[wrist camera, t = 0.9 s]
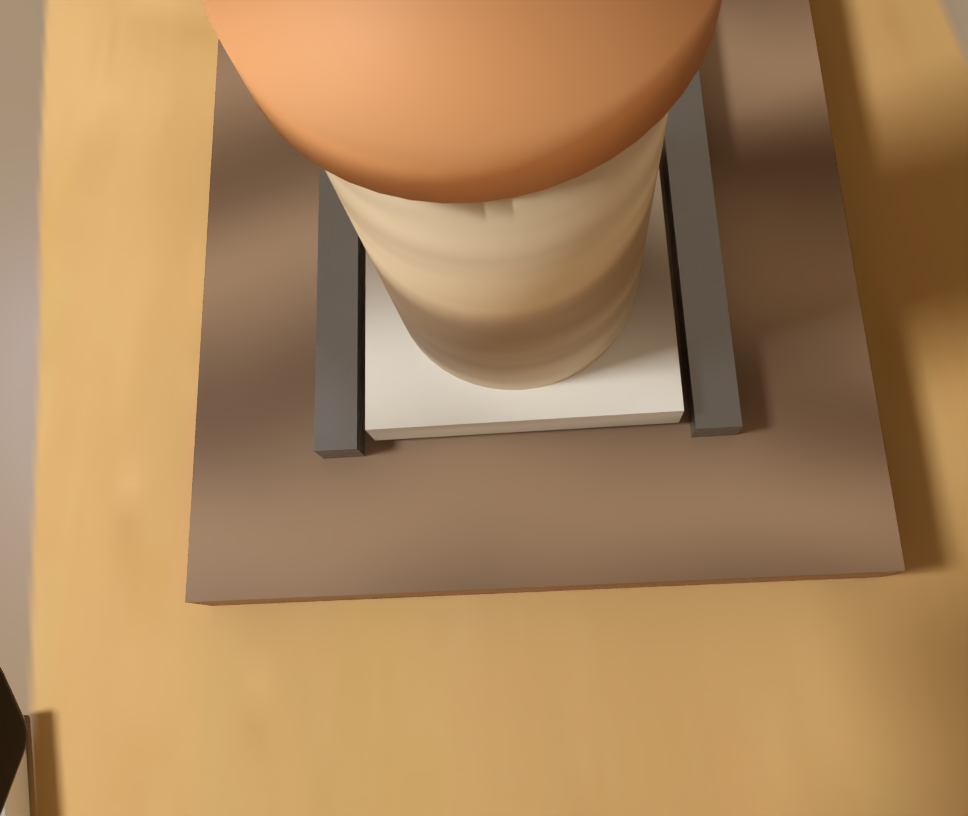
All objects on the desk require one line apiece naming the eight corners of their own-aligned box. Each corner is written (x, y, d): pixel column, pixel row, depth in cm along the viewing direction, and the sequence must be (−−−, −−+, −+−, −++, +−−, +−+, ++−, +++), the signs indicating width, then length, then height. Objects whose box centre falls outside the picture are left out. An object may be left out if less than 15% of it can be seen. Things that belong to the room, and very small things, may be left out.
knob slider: (678, 422, 19) (808, 142, 9) (374, 440, 20) (148, 198, 9) (650, 151, 21) (730, -350, 11) (374, 175, 22) (187, -277, 11)
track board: (881, 577, 20) (905, 570, 18) (211, 605, 21) (185, 602, 20) (762, -163, 26) (773, -211, 24) (247, -104, 27) (229, -146, 26)
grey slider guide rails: (789, 431, 19) (827, 394, 17) (274, 461, 20) (225, 430, 18) (710, -142, 24) (729, -250, 21) (292, -95, 25) (256, -191, 22)
